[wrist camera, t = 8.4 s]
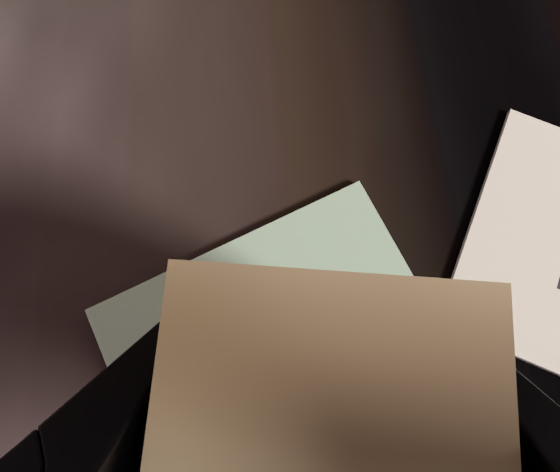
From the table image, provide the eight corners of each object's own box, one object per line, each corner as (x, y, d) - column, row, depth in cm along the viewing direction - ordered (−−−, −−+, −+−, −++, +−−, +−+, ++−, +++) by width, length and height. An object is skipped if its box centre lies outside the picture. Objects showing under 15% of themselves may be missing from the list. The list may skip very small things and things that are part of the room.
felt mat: (215, 633, 16) (214, 640, 16) (88, 310, 19) (84, 310, 18) (514, 461, 18) (520, 463, 17) (357, 184, 20) (359, 180, 20)
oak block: (376, 474, 15) (531, 640, 6) (212, 462, 15) (121, 610, 6) (378, 327, 16) (511, 282, 7) (226, 316, 16) (168, 258, 7)
